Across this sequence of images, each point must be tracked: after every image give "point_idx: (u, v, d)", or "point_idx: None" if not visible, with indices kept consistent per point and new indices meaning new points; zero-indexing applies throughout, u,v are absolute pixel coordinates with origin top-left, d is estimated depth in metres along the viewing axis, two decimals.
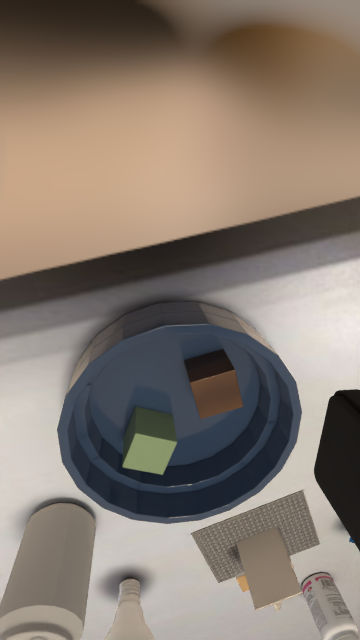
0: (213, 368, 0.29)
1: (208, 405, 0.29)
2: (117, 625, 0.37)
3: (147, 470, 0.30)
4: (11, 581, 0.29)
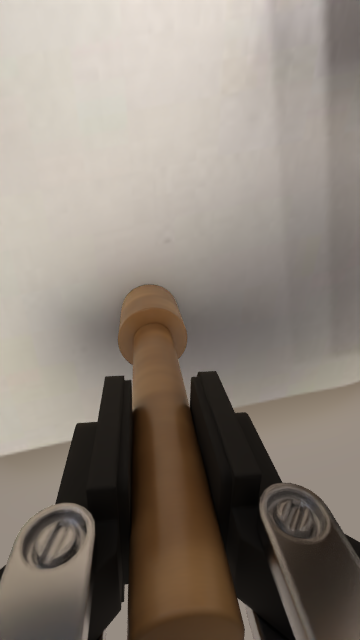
0: None
1: None
2: None
3: None
4: None
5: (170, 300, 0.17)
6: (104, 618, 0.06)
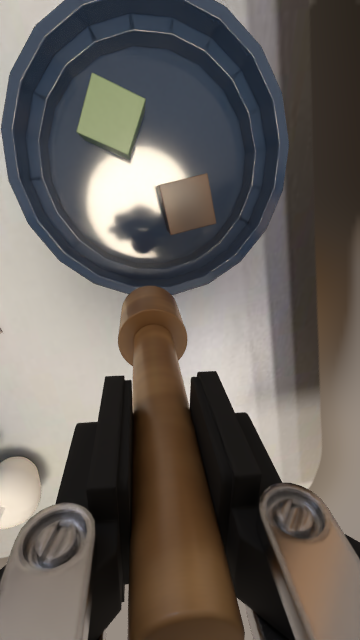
0: None
1: (177, 194, 0.26)
2: None
3: (84, 109, 0.24)
4: None
5: (170, 301, 0.17)
6: (104, 618, 0.06)
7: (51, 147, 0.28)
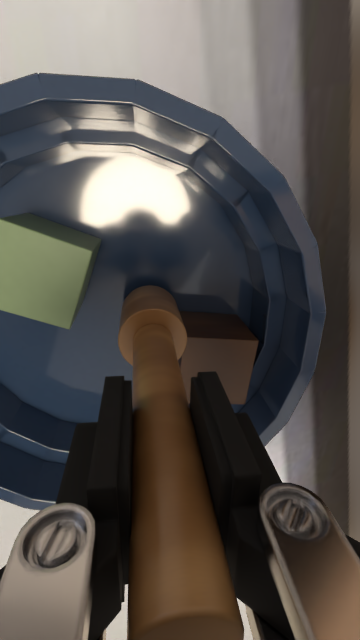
0: None
1: (205, 355, 0.17)
2: None
3: None
4: None
5: (170, 301, 0.17)
6: (104, 618, 0.06)
7: None
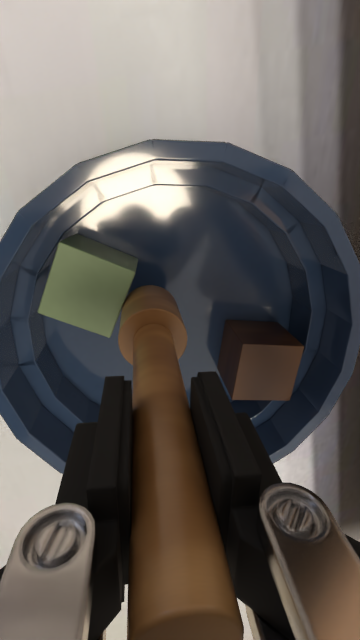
0: None
1: (259, 359, 0.20)
2: None
3: (49, 287, 0.17)
4: None
5: (170, 301, 0.17)
6: (104, 618, 0.06)
7: None
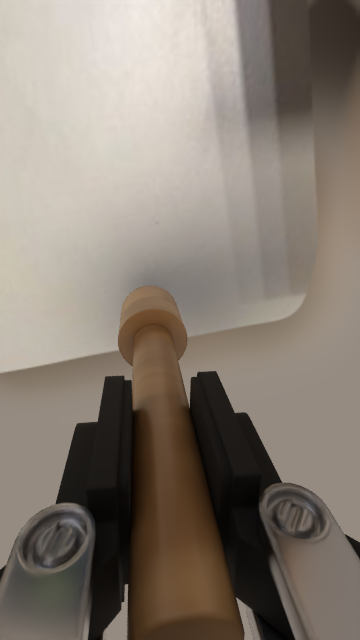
0: None
1: None
2: None
3: None
4: None
5: (170, 301, 0.17)
6: (104, 618, 0.06)
7: None
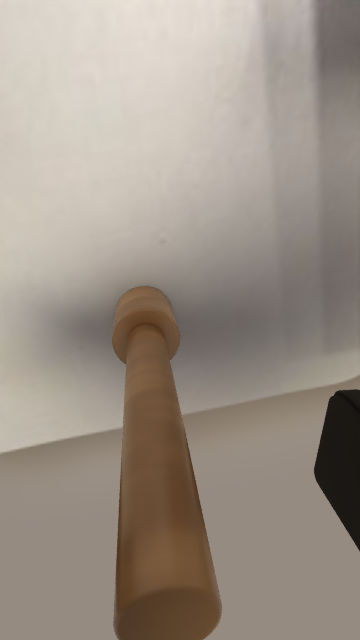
0: None
1: None
2: None
3: None
4: None
5: (163, 301, 0.17)
6: None
7: None
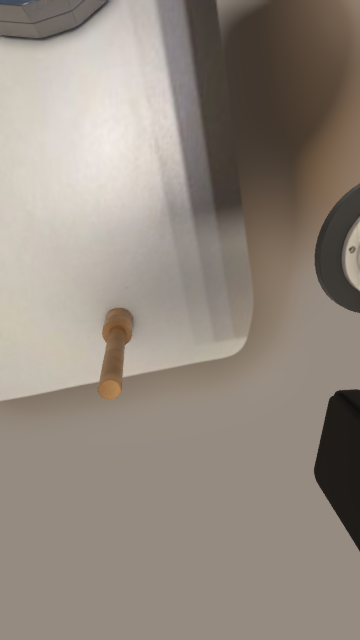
0: None
1: None
2: None
3: None
4: None
5: (126, 316, 0.37)
6: None
7: None
